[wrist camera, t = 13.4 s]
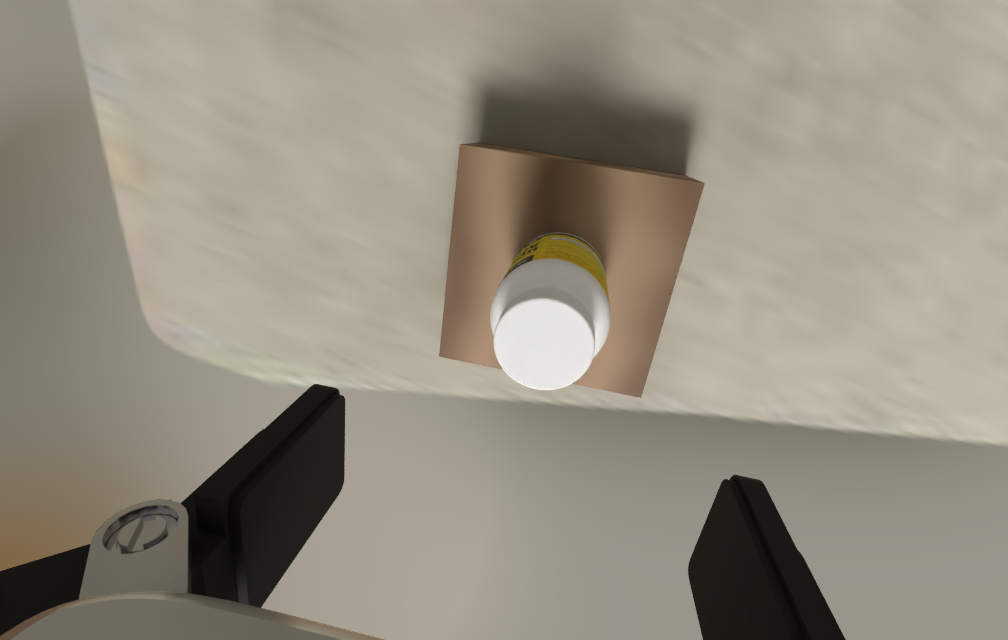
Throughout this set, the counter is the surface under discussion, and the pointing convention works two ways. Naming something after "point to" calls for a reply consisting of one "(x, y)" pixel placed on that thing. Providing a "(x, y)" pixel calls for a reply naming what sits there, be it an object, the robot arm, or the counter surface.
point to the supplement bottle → (551, 312)
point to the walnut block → (578, 211)
